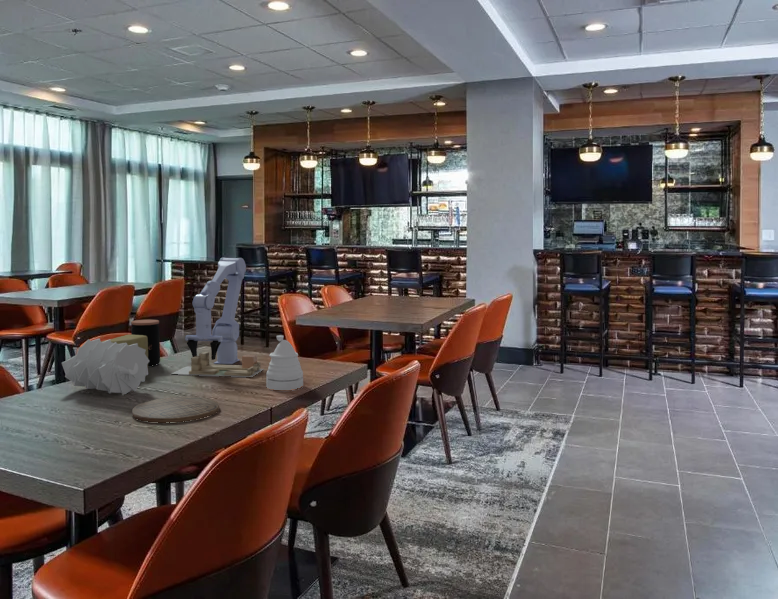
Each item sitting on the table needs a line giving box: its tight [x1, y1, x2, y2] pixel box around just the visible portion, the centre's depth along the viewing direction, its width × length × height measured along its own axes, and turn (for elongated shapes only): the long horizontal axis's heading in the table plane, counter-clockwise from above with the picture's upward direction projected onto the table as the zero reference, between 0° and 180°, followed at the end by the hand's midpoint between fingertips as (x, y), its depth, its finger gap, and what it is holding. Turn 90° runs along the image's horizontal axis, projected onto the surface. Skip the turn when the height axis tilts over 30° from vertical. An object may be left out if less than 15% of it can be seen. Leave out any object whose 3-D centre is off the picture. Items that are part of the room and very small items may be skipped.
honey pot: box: [265, 334, 304, 390], centre depth 231 cm, size 13×13×18 cm
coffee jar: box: [130, 319, 161, 367], centre depth 266 cm, size 11×11×18 cm
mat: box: [170, 365, 265, 378], centre depth 254 cm, size 14×32×1 cm, turn 83°
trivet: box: [131, 396, 220, 423], centre depth 198 cm, size 25×25×2 cm
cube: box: [241, 353, 258, 368], centre depth 256 cm, size 4×4×4 cm
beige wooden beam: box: [198, 351, 261, 371], centre depth 257 cm, size 5×24×6 cm, turn 83°
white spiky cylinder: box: [61, 338, 149, 396], centre depth 222 cm, size 18×18×25 cm
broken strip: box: [189, 355, 254, 376], centre depth 249 cm, size 5×24×6 cm, turn 83°
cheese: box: [100, 334, 149, 369], centre depth 242 cm, size 22×10×15 cm, turn 164°
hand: (204, 359), depth 258 cm, fingers open, 7 cm apart
